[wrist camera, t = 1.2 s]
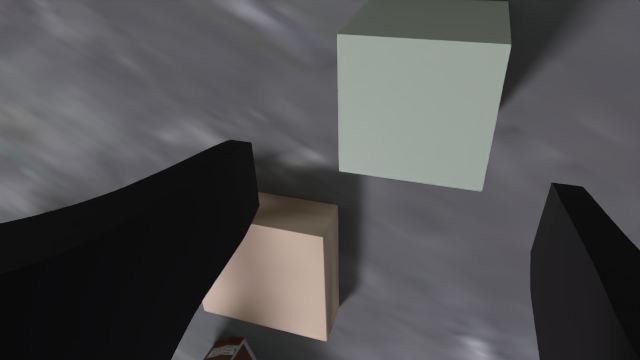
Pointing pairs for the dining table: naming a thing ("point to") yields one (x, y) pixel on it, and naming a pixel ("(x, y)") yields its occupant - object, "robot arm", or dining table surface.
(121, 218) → the robot arm
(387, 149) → the sage cube
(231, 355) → the food container
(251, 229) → the oak block
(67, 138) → the dining table surface
